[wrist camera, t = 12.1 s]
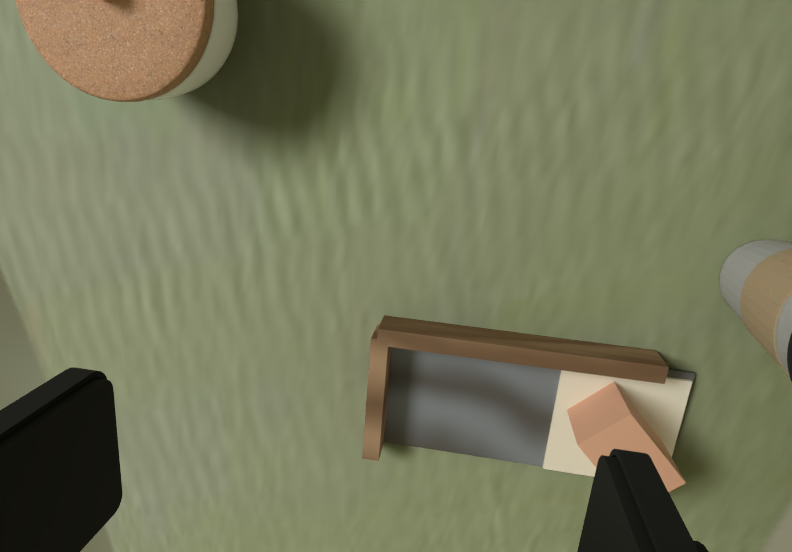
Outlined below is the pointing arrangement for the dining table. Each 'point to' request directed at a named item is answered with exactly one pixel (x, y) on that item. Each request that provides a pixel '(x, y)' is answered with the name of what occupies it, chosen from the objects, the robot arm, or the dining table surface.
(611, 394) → the block
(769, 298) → the coffee cup
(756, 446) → the dining table surface
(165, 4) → the lidded bowl
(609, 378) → the pad
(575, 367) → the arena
